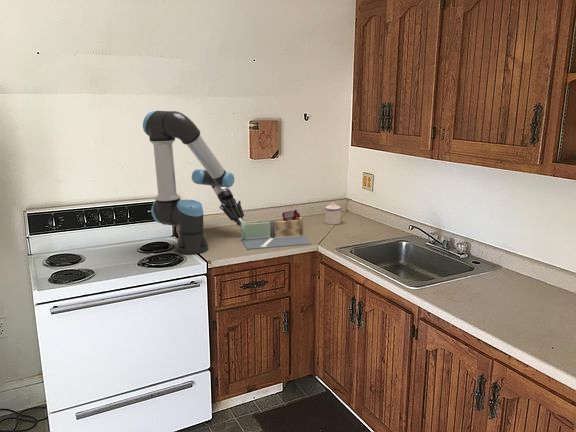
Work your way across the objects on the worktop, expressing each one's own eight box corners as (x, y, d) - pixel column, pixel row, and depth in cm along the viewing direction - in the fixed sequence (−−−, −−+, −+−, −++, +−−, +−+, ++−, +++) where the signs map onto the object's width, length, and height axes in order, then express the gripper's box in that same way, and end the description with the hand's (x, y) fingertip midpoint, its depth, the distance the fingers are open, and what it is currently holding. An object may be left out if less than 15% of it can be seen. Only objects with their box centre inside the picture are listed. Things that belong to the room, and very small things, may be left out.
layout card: (246, 249, 240) (246, 248, 239) (239, 236, 260) (239, 235, 260) (311, 244, 247) (311, 243, 247) (299, 232, 268) (299, 231, 268)
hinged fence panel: (269, 236, 258) (268, 219, 256) (270, 237, 256) (269, 220, 254) (241, 238, 254) (240, 221, 252) (242, 239, 253) (241, 222, 250)
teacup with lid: (344, 223, 285) (344, 203, 282) (331, 225, 280) (331, 205, 277) (331, 218, 295) (331, 199, 292) (318, 221, 290) (318, 201, 287)
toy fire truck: (305, 228, 275) (305, 210, 272) (287, 232, 268) (287, 213, 265) (297, 226, 280) (297, 207, 278) (279, 229, 273) (279, 211, 270)
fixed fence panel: (271, 239, 256) (270, 220, 254) (270, 237, 258) (269, 218, 256) (303, 236, 260) (303, 217, 258) (302, 235, 262) (302, 216, 260)
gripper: (230, 195, 273) (251, 231, 265) (210, 199, 264) (231, 236, 257) (236, 187, 268) (257, 223, 260) (216, 190, 259) (237, 228, 252)
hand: (244, 229), depth 259 cm, fingers closed
